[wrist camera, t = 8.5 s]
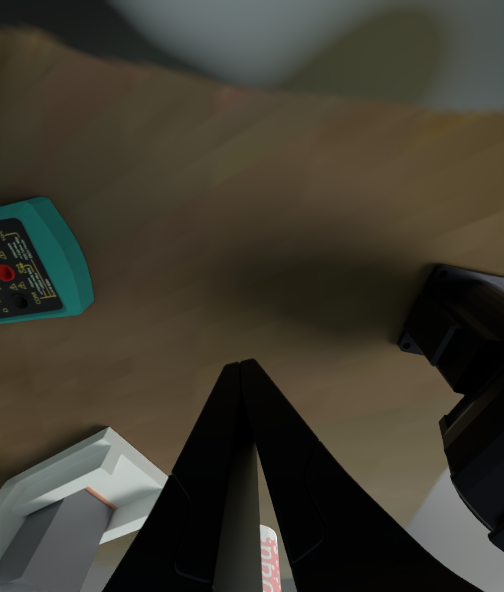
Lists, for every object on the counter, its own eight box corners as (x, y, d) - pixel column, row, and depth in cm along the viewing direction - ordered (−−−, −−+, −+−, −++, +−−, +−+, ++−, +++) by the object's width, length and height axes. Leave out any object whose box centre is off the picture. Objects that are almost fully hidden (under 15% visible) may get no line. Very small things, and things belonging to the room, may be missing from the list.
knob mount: (109, 426, 28) (41, 553, 19) (182, 488, 31) (151, 618, 23) (6, 480, 32) (-87, 604, 23) (81, 529, 35) (24, 653, 27)
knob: (73, 481, 29) (4, 606, 21) (112, 510, 31) (62, 635, 23) (38, 498, 30) (-39, 622, 23) (77, 525, 32) (18, 647, 24)
